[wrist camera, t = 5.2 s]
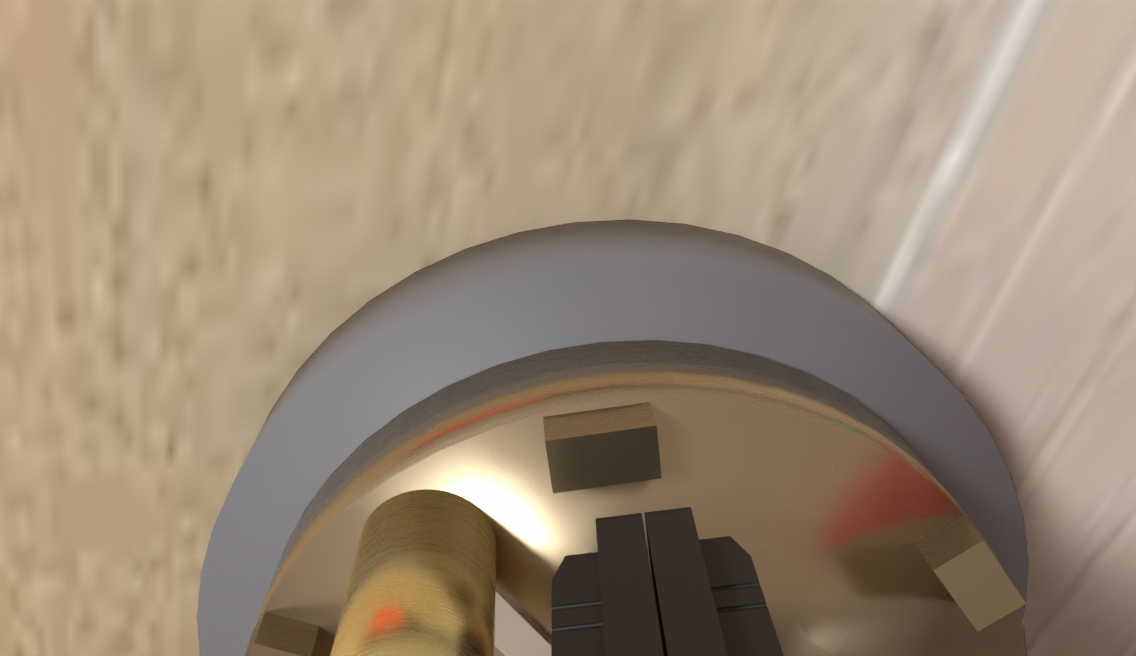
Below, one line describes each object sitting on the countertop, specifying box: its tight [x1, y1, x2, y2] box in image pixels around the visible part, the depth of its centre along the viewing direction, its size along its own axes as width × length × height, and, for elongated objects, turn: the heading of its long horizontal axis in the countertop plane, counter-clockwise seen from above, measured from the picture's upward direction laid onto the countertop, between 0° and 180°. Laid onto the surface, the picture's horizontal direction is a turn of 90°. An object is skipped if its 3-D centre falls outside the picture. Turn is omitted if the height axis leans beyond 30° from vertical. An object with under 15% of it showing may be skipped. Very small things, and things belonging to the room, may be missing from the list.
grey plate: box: [197, 220, 1028, 656], centre depth 22 cm, size 19×19×3 cm
